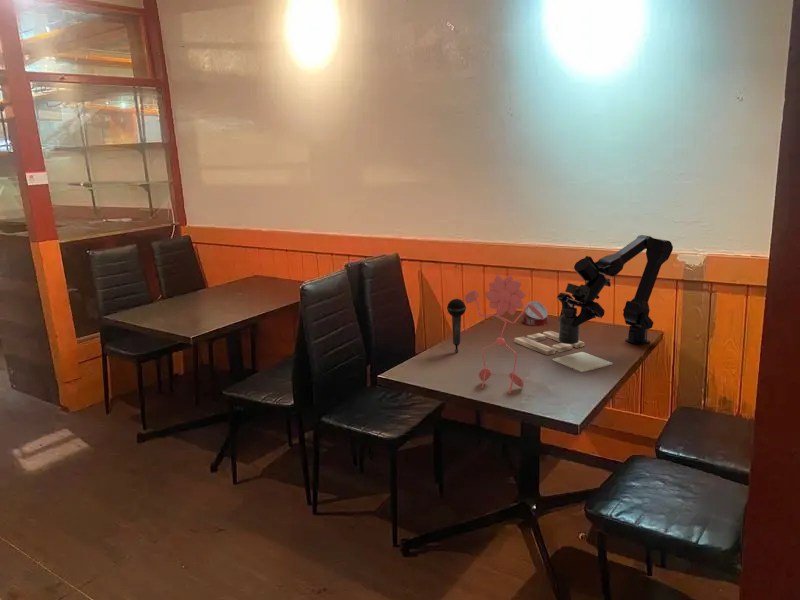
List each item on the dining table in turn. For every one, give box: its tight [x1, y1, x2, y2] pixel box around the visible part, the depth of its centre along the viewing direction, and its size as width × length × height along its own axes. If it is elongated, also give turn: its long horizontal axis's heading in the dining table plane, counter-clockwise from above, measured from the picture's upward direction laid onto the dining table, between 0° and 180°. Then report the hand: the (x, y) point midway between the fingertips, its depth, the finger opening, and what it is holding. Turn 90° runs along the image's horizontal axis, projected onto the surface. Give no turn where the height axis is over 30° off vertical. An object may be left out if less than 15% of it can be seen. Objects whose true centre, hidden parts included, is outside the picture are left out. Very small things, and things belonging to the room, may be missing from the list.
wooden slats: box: [513, 330, 585, 356], centre depth 233 cm, size 18×18×2 cm
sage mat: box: [552, 351, 613, 373], centre depth 213 cm, size 14×14×1 cm
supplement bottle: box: [558, 306, 580, 344], centre depth 216 cm, size 7×7×12 cm
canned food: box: [522, 300, 549, 327], centre depth 261 cm, size 11×10×10 cm
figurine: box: [464, 274, 544, 398], centre depth 192 cm, size 15×26×35 cm, turn 59°
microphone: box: [446, 298, 467, 353], centre depth 224 cm, size 7×7×20 cm
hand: (566, 324), depth 215 cm, fingers closed on supplement bottle, 7 cm apart
